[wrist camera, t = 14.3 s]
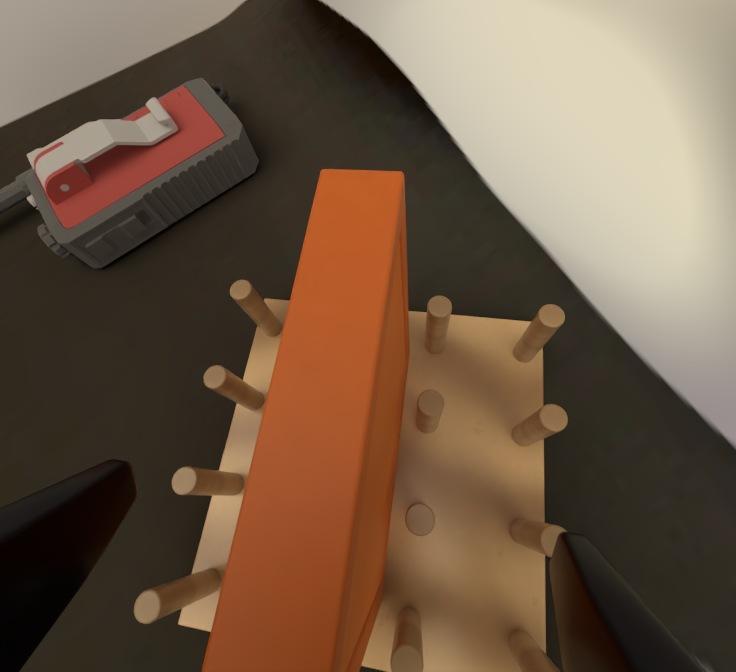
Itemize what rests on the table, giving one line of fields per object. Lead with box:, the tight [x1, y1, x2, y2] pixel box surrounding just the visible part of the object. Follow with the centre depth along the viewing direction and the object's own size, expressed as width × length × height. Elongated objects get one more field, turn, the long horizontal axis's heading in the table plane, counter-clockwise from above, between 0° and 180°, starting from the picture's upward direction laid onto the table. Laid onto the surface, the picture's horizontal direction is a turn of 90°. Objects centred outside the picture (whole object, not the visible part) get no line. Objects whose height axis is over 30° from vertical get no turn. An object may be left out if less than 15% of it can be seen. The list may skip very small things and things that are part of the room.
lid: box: [201, 169, 410, 672], centre depth 12 cm, size 10×2×11 cm, turn 172°
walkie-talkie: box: [0, 78, 259, 268], centre depth 22 cm, size 9×4×20 cm
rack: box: [134, 280, 568, 672], centre depth 15 cm, size 14×13×5 cm
